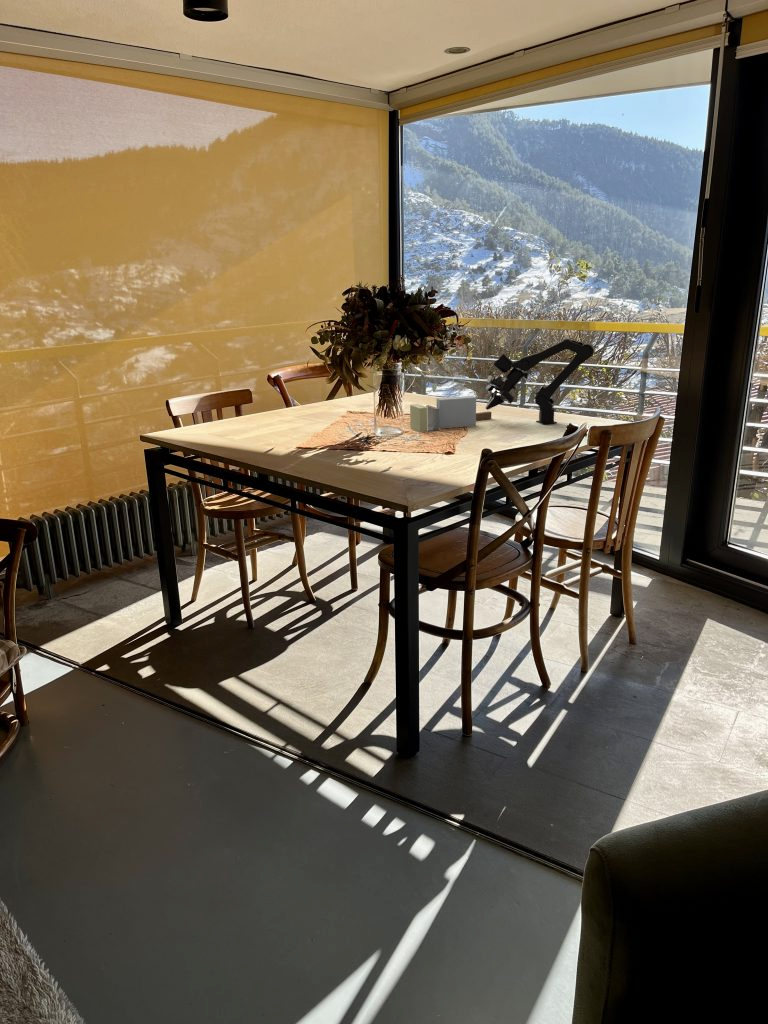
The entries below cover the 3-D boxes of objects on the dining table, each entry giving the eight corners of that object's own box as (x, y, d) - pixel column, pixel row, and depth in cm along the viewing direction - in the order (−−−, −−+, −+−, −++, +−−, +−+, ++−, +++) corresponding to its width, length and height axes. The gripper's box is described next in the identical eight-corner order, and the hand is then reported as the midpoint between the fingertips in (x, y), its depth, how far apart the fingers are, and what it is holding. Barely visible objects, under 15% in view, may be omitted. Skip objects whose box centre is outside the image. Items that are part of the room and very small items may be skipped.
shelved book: (428, 431, 319) (427, 407, 316) (419, 432, 318) (419, 407, 315) (418, 427, 327) (417, 403, 324) (410, 428, 326) (409, 404, 323)
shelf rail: (491, 418, 340) (491, 412, 339) (430, 426, 329) (430, 419, 328) (489, 417, 342) (489, 411, 341) (428, 425, 331) (428, 418, 330)
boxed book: (472, 423, 333) (472, 395, 329) (475, 425, 328) (476, 397, 324) (436, 426, 329) (436, 398, 325) (439, 428, 325) (439, 400, 321)
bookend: (438, 430, 321) (438, 408, 318) (424, 431, 319) (424, 410, 316) (429, 426, 329) (429, 405, 326) (415, 427, 327) (415, 406, 324)
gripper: (490, 365, 334) (466, 393, 335) (507, 371, 317) (481, 400, 318) (507, 382, 338) (483, 409, 339) (524, 388, 321) (499, 417, 322)
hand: (486, 408), depth 329 cm, fingers closed
